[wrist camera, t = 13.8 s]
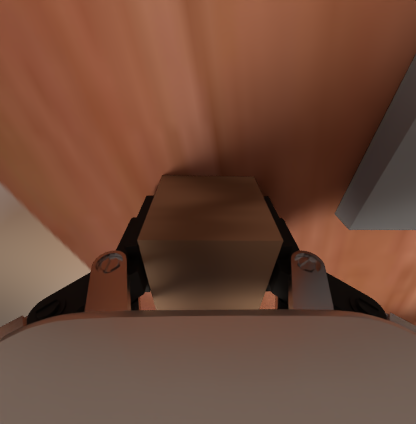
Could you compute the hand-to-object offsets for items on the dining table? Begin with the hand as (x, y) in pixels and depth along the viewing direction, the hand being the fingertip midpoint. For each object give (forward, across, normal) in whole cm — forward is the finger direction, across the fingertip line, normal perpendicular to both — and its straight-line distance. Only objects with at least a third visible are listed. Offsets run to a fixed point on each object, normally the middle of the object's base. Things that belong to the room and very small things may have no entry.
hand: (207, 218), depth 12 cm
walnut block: (+1, 0, 0) cm, 1 cm away
